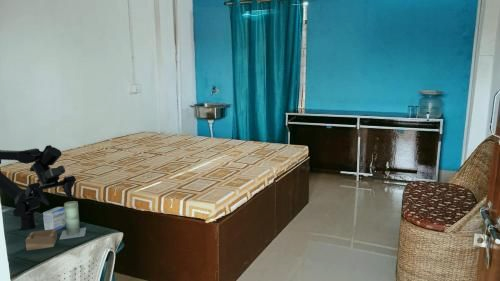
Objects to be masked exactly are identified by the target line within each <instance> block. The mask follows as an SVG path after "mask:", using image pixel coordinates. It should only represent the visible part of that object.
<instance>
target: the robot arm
mask: <svg viewBox="0 0 500 281" xmlns="http://www.w3.org/2000/svg"><path fill="white" fill-rule="evenodd" d="M62 154H63V153H62V151H61V150H60V149H58V148H57V147H54V146H52V145H51V144H49V145H48V144H47V145H46V146H45V147H44V149H43V150H42V151H41V150H40V149H39V148H30V149H24V150H5V149H0V165H1V164H2V161H3V160H4V161H17V162H19V163H20V164H21V163H22V164H25V165H27V164H31V163H33V164H31V166H30V168H29V172H34V173H35V174H36V176H37V182H34V183H33V182H32V183H29V184H28V185H27V186H26V189H25V190H23V189H22V188H21V187H20V186H19V185H18V184H16V183H15V181H14V182H13V180H11V179H10V178H9V177H8V176H6V174H4V173H3V172H2V170H1V168H0V189H1V190H2V191H4V193H6V194H7V195H8V196H9V197H11V198H12V199H13V200H14V205H15V206H16V207H15V209H13V211H12V213H13V216H14V217H19V225H20V226H19V227H18V229H17V230H18V231H22V230H29V229H30V230H31V229H36V228H37V226H38V225H39V222H36V214H35V213H36V212H38V211H39V210H40V207H41V203H42V204H44V205H46V206H49V205H50V202H49V199H48V198H47V196H46V194H45V192H44V191H45V190H47V189H48V190H50V189H54V188H59V187H61V188H62V189H63V192H64V194H65V195H66V196H67V198H68V199H69V200H70V201H71V200H72V199H73V193H72V192H73V191H72V188H74V185H75V183H76V182H77V178H76V176H75V175H69V176H64V178H63V179H62V180H60V177H61V176H62V175H63V174H65V173H66V168H65V167H64V166H63V164H62V165H58V166H57V167H52V168H51V166H53V165H55V163H56V162H57V161H58V160H59V159H60V158H61V156H62ZM58 180H60V181H58Z"/></svg>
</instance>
